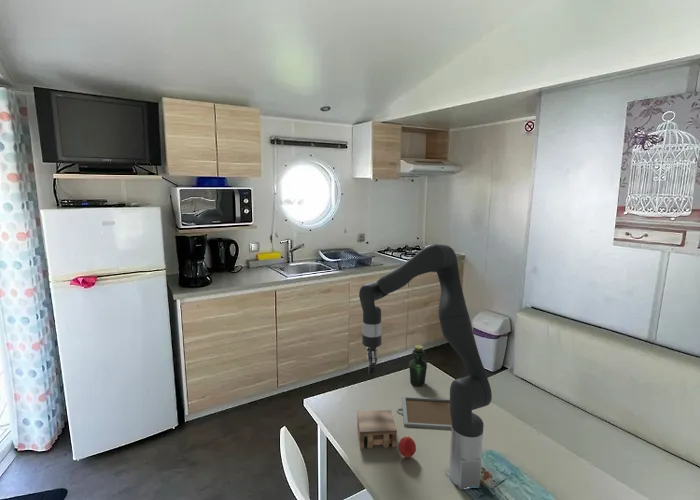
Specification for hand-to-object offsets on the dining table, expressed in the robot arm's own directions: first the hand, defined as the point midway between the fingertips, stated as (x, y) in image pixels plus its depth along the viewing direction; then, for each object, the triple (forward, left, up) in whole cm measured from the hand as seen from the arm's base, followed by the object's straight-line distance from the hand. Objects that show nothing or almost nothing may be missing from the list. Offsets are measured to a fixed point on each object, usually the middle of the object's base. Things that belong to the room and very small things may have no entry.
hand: (371, 374), depth 146 cm
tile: (-13, -1, -17) cm, 21 cm away
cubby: (-15, 0, -16) cm, 22 cm away
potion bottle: (+21, -24, -17) cm, 36 cm away
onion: (-26, -9, -17) cm, 32 cm away
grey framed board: (-2, -25, -17) cm, 31 cm away
